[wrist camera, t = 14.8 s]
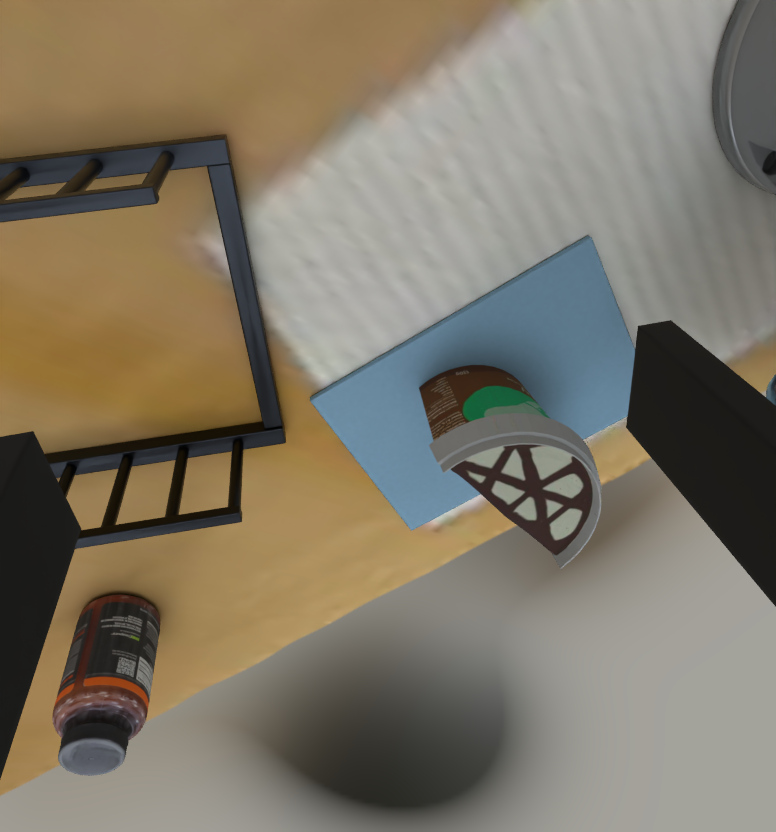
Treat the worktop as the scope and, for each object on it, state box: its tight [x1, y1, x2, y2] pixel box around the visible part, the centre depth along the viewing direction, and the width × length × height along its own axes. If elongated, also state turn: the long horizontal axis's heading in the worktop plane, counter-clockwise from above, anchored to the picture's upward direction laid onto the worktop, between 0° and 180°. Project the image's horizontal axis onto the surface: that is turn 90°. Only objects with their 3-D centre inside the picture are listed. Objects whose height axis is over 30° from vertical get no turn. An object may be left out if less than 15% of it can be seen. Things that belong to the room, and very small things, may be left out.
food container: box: [419, 365, 601, 569], centre depth 41 cm, size 12×6×10 cm, turn 43°
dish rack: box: [0, 135, 286, 549], centre depth 35 cm, size 20×19×9 cm
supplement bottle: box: [53, 595, 160, 776], centre depth 47 cm, size 6×6×11 cm
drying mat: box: [310, 236, 635, 530], centre depth 45 cm, size 20×14×1 cm
